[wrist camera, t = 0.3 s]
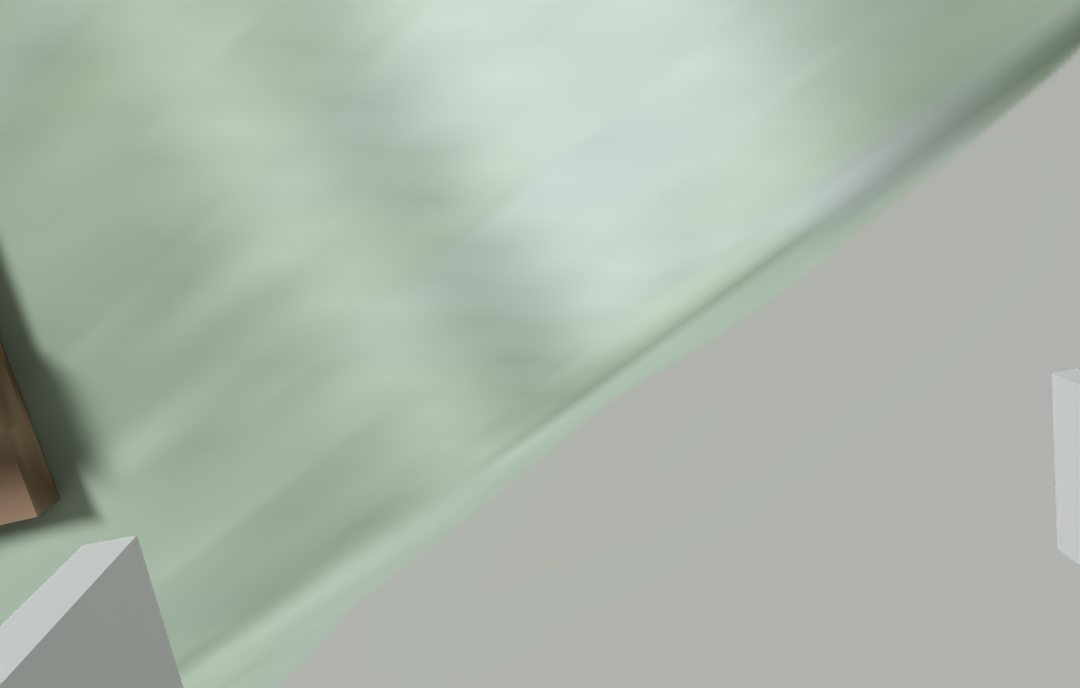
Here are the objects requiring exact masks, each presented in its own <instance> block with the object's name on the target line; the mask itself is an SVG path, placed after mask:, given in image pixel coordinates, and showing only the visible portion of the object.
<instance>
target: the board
mask: <svg viewBox="0 0 1080 688" xmlns="http://www.w3.org/2000/svg"><path fill="white" fill-rule="evenodd" d="M58 500H59V496H58V493H57V491H56V488H55V485H54V483H53V480H52V477H51V475H50V472H49V469H48V467H47V464H46V461H45V459H44V456H43V453H42V451H41V448H40V445H39V443H38V440H37V437H36V435H35V432H34V429H33V427H32V424H31V421H30V419H29V416H28V413H27V411H26V408H25V405H24V403H23V400H22V398H21V395H20V392H19V390H18V387H17V384H16V382H15V379H14V376H13V374H12V371H11V368H10V366H9V363H8V360H7V358H6V355H5V352H4V350H3V347H2V344H1V342H0V525H4V524H8V523H13V522H17V521H22V520H26V519H31V518H35V517H38V516H39V515H41V514H42V513H43V512H44V511H46V510H47V509H48V508H49V507H50V506H52V505H53V504H54V503H55V502H56V501H58Z"/></svg>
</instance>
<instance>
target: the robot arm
mask: <svg viewBox="0 0 1080 688" xmlns="http://www.w3.org/2000/svg"><path fill="white" fill-rule="evenodd" d="M1052 390H1053V421H1054V453H1055V484H1056V514H1057V515H1056V516H1057V545H1058V546H1057V547H1058V550H1060V551H1061V552H1063V553H1064V554H1065V555H1067V556H1068V557H1069V558H1071V559H1072V560H1073V561H1075V562H1076V563H1077V564H1079V565H1080V368H1078V369H1072V370H1067V371H1061V372H1056V373H1052ZM0 688H183V685H182V682H181V679H180V676H179V672H178V669H177V666H176V663H175V659H174V656H173V653H172V649H171V646H170V643H169V640H168V636H167V633H166V630H165V626H164V623H163V620H162V617H161V613H160V610H159V607H158V604H157V600H156V597H155V594H154V590H153V587H152V584H151V581H150V577H149V574H148V571H147V568H146V564H145V561H144V558H143V554H142V551H141V548H140V545H139V541H138V538H137V535H136V536H131V537H125V538H119V539H114V540H108V541H102V542H97V543H91V544H86V545H82V546H81V547H80V548H79V549H78V550H77V551H76V552H75V553H74V554H73V555H72V556H71V557H70V558H69V559H68V560H67V561H66V562H65V563H64V564H63V565H62V566H61V567H60V568H59V569H58V570H57V571H56V572H55V573H54V574H53V575H52V576H51V577H50V578H49V579H48V580H47V581H46V582H45V583H44V584H42V585H41V586H40V587H39V588H38V589H37V590H36V591H35V592H34V593H33V594H32V595H31V596H30V597H29V598H28V599H27V600H26V601H25V602H24V603H23V604H22V605H21V606H20V607H19V608H18V609H17V610H16V611H15V612H14V613H13V614H12V615H11V616H10V617H9V618H8V619H7V620H6V621H5V622H4V623H3V624H2V625H0Z"/></svg>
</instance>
